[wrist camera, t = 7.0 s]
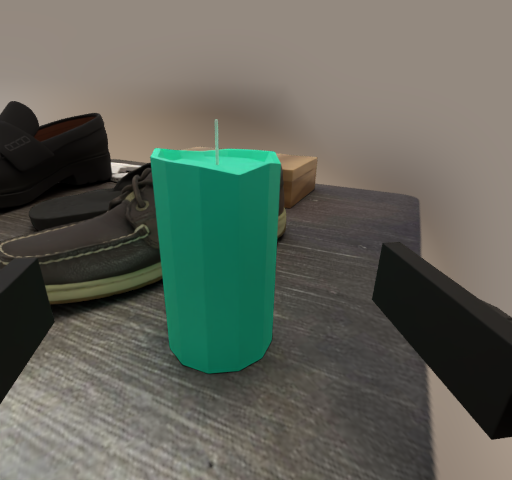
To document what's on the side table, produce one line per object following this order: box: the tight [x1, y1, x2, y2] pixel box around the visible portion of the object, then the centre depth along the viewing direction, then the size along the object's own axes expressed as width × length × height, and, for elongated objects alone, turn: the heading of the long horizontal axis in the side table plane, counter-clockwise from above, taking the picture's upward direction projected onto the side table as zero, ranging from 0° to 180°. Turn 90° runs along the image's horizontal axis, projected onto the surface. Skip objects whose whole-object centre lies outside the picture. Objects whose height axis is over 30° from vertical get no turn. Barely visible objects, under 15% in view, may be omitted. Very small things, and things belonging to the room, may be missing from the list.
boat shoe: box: [0, 166, 286, 304], centre depth 27 cm, size 9×25×8 cm, turn 134°
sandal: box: [29, 163, 151, 231], centre depth 39 cm, size 9×25×6 cm, turn 123°
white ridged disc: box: [110, 173, 128, 182], centre depth 55 cm, size 4×4×1 cm
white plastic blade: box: [111, 162, 141, 174], centre depth 62 cm, size 5×15×1 cm, turn 65°
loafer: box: [0, 101, 112, 209], centre depth 43 cm, size 10×28×12 cm, turn 156°
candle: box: [150, 119, 281, 374], centre depth 17 cm, size 6×6×12 cm
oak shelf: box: [184, 147, 317, 208], centre depth 51 cm, size 22×12×5 cm, turn 65°
